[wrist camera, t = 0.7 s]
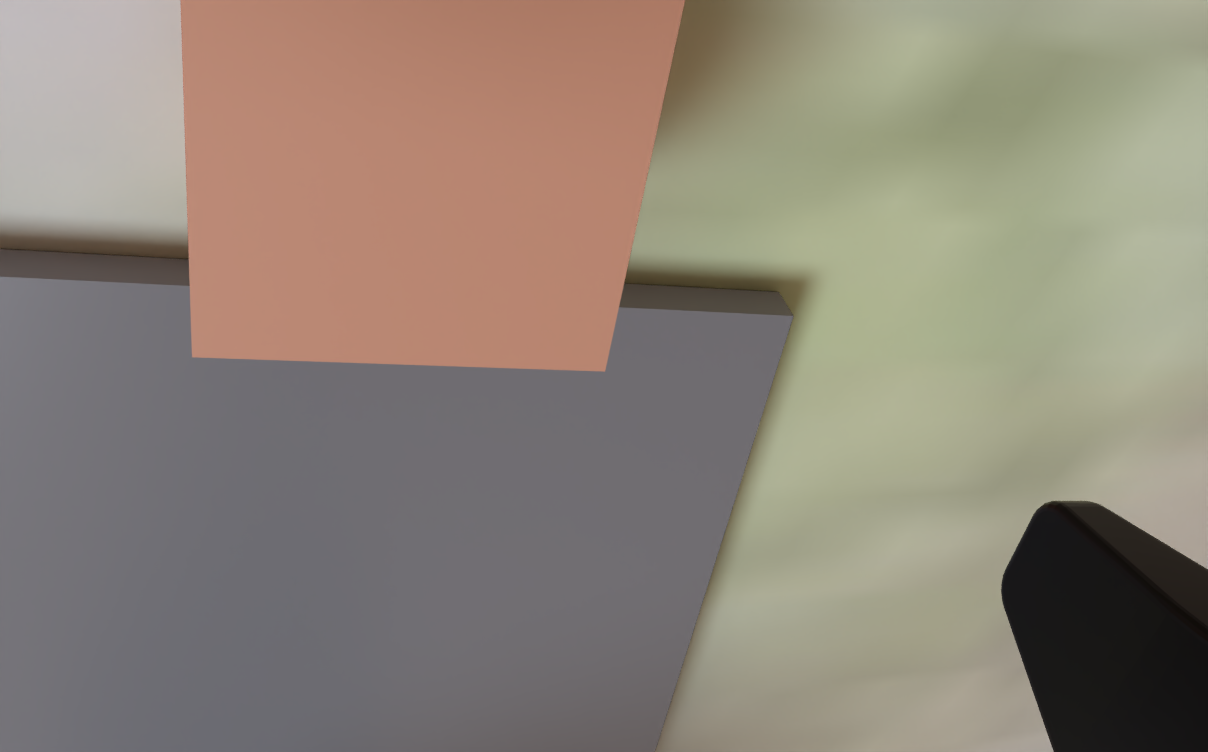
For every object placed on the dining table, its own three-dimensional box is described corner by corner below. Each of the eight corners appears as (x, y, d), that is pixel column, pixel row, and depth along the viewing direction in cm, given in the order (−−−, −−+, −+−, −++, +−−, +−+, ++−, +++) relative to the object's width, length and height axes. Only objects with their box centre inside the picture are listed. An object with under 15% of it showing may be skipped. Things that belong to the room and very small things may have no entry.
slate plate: (631, 773, 28) (638, 802, 27) (11, 812, 24) (3, 845, 24) (778, 292, 20) (793, 315, 20) (-97, 243, 17) (-113, 270, 16)
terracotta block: (545, 195, 18) (605, 372, 14) (223, 171, 17) (191, 357, 13) (598, -130, 16) (689, -22, 12) (219, -189, 14) (178, -89, 10)
